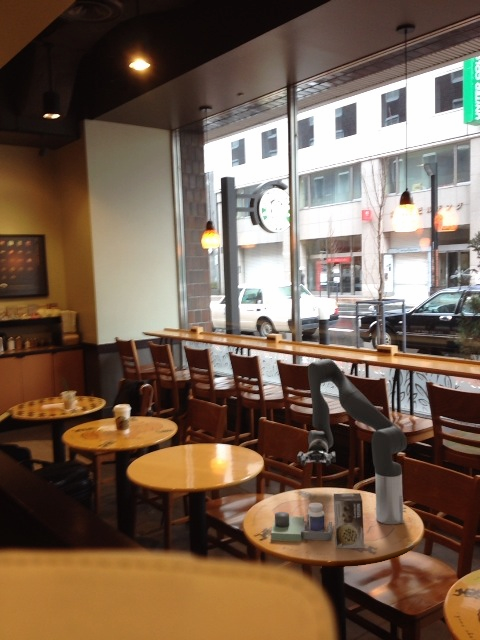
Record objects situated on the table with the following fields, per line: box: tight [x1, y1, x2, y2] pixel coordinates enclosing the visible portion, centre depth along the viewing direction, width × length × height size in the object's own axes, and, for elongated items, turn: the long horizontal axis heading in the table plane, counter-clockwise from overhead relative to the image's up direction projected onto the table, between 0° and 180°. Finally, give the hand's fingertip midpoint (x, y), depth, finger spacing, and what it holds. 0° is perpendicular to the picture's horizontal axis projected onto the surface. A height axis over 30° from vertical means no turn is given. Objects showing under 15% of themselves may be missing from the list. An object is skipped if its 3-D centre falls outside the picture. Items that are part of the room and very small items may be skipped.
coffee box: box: [333, 492, 365, 549], centre depth 191 cm, size 9×6×16 cm
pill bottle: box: [307, 502, 326, 532], centre depth 201 cm, size 6×6×10 cm
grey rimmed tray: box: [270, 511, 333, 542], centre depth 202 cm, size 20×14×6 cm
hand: (315, 462), depth 215 cm, fingers open, 8 cm apart
